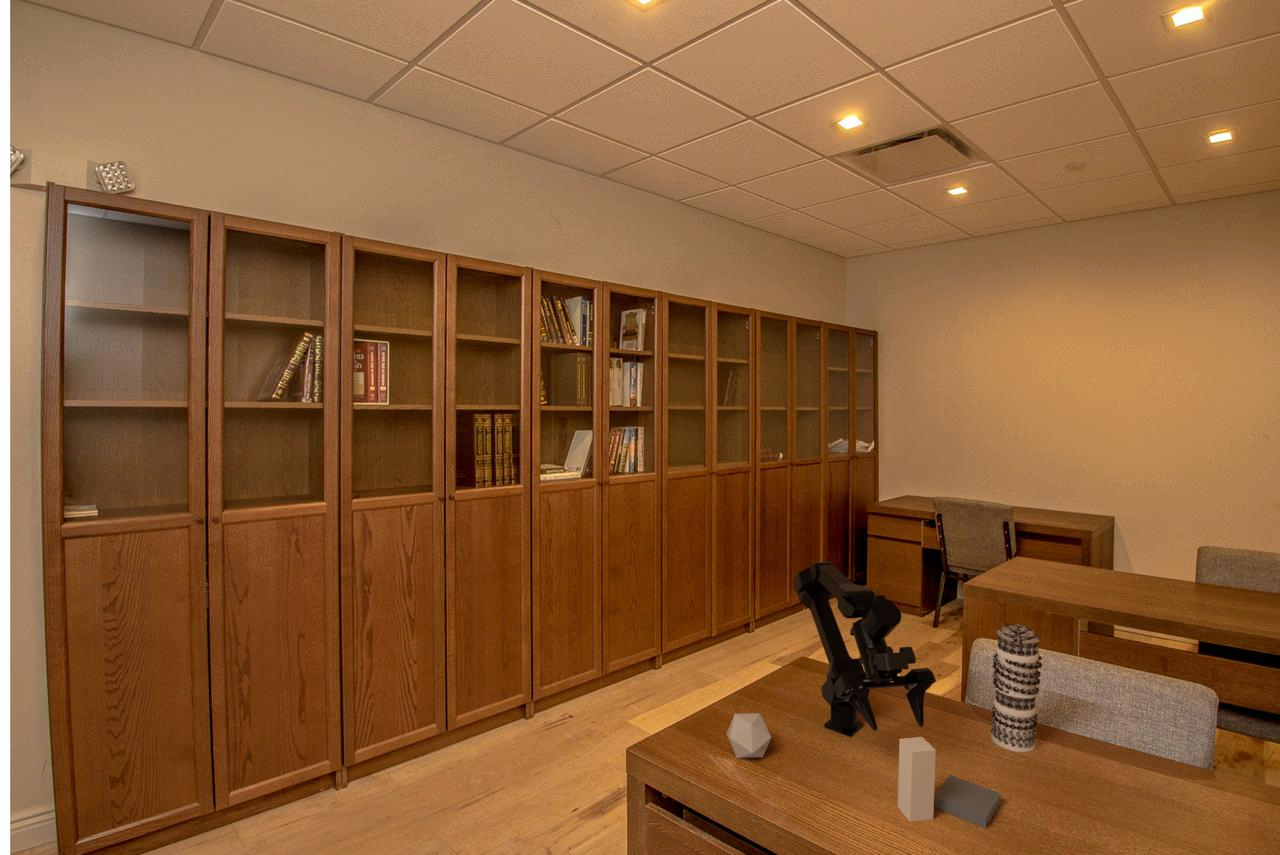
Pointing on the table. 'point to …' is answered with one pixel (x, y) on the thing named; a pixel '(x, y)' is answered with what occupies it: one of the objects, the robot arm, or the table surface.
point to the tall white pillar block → (916, 779)
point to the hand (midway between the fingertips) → (898, 728)
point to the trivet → (967, 800)
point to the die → (748, 735)
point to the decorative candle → (1015, 688)
